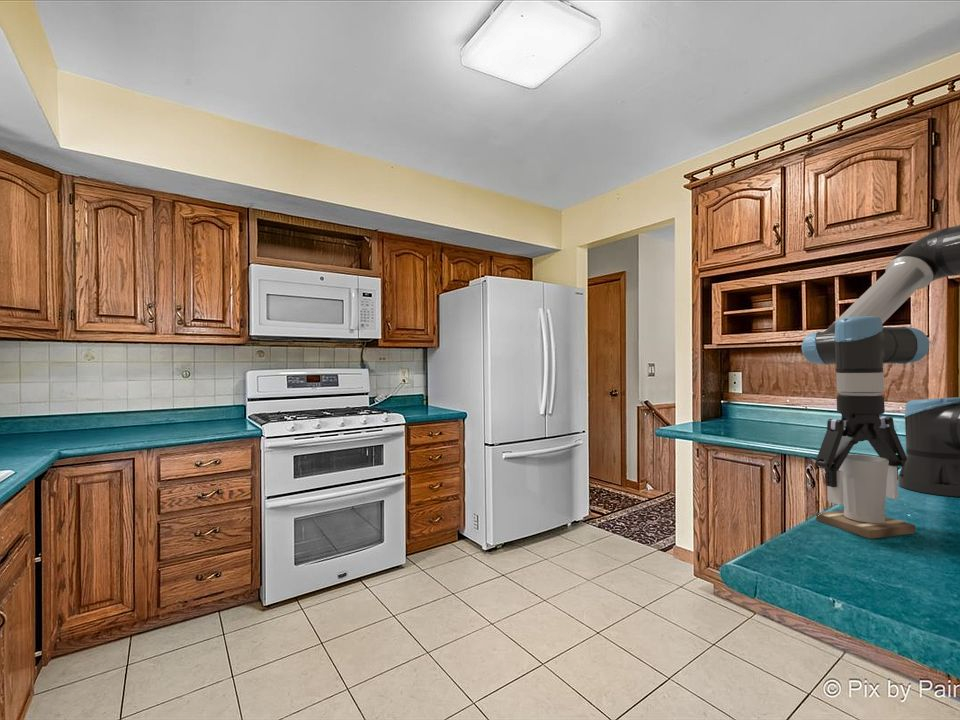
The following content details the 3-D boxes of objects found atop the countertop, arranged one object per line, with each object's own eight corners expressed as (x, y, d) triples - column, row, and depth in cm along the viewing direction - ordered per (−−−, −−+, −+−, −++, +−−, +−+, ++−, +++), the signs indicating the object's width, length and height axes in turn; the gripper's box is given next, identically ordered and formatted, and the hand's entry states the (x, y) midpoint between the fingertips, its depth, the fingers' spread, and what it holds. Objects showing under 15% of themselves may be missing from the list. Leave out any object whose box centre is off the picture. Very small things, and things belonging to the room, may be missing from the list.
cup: (840, 509, 101) (838, 452, 102) (889, 516, 96) (888, 457, 96) (837, 519, 95) (836, 458, 95) (890, 527, 90) (889, 463, 90)
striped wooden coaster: (858, 515, 102) (857, 507, 102) (915, 532, 92) (915, 524, 92) (816, 520, 100) (815, 512, 100) (869, 538, 89) (869, 529, 89)
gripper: (888, 391, 103) (891, 490, 102) (792, 395, 97) (795, 500, 97) (928, 392, 95) (931, 499, 95) (826, 397, 90) (830, 511, 89)
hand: (862, 500), depth 96 cm, fingers open, 13 cm apart
